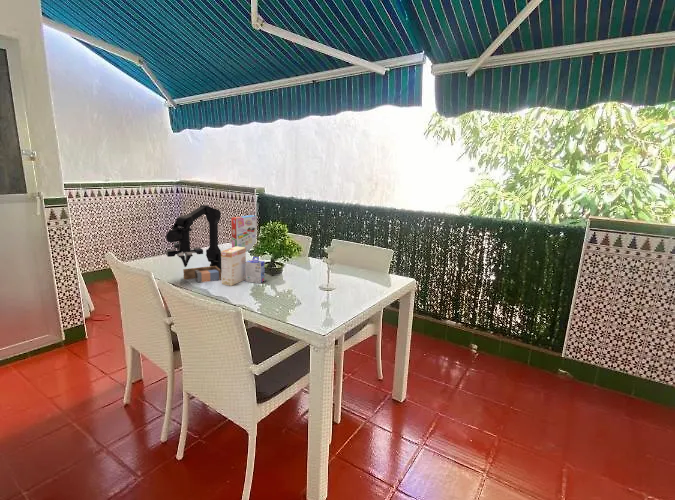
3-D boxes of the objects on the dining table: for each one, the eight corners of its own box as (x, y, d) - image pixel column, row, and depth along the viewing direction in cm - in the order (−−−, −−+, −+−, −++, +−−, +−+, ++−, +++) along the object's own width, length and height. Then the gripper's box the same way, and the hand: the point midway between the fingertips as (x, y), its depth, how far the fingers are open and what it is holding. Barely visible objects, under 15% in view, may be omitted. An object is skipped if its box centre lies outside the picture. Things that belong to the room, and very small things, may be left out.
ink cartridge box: (264, 280, 223) (265, 257, 220) (261, 283, 218) (261, 259, 215) (249, 279, 225) (249, 255, 222) (245, 281, 220) (245, 257, 217)
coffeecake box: (236, 277, 228) (235, 246, 223) (246, 279, 225) (246, 247, 221) (221, 284, 214) (220, 250, 210) (231, 286, 212) (231, 252, 207)
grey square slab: (198, 278, 221) (198, 269, 219) (201, 281, 215) (201, 272, 214) (194, 279, 219) (194, 270, 218) (197, 282, 214) (197, 273, 213)
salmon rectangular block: (207, 278, 223) (207, 270, 222) (210, 281, 218) (210, 273, 217) (198, 279, 220) (198, 271, 219) (201, 282, 216) (201, 274, 215)
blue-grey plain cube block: (216, 277, 226) (215, 269, 225) (219, 280, 221) (218, 272, 220) (207, 278, 223) (207, 270, 222) (210, 281, 218) (210, 273, 217)
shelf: (216, 275, 230) (215, 265, 229) (221, 279, 222) (221, 270, 220) (183, 279, 220) (183, 269, 218) (187, 284, 211) (187, 273, 210)
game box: (252, 248, 306) (252, 215, 300) (256, 249, 303) (256, 215, 297) (231, 252, 290) (231, 217, 284) (236, 253, 287) (235, 218, 281)
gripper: (198, 236, 220) (198, 261, 223) (163, 238, 210) (164, 265, 213) (203, 239, 211) (203, 266, 214) (167, 241, 201) (168, 270, 204)
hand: (185, 266), depth 212 cm, fingers closed
